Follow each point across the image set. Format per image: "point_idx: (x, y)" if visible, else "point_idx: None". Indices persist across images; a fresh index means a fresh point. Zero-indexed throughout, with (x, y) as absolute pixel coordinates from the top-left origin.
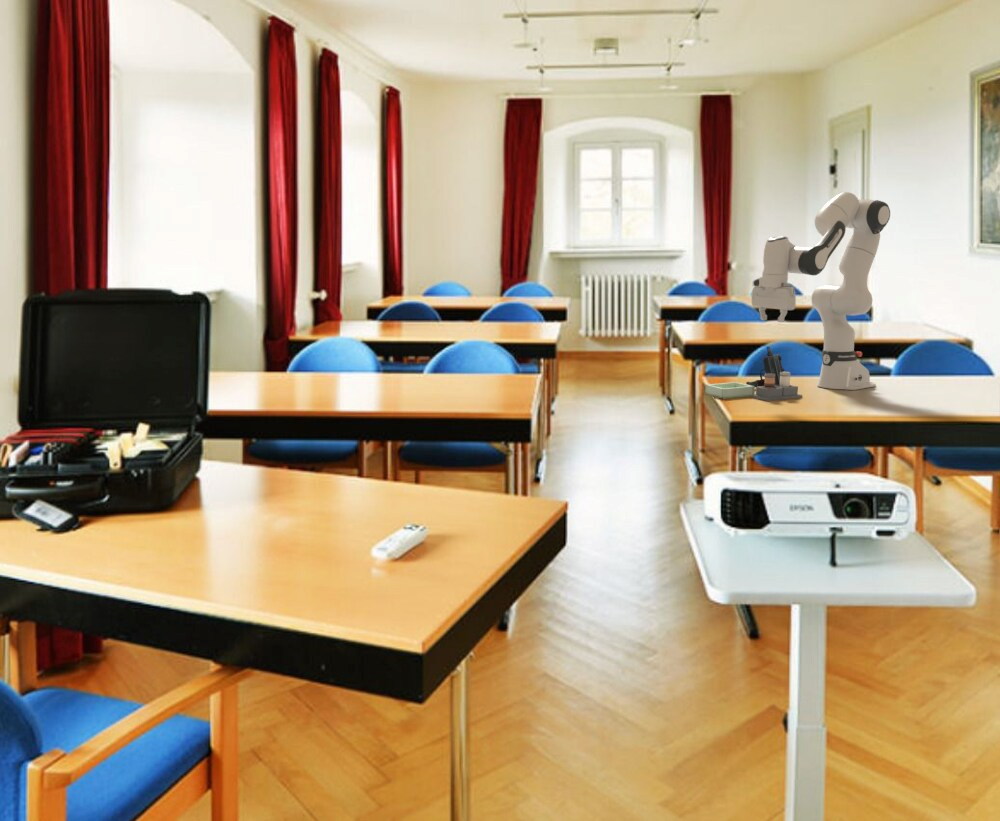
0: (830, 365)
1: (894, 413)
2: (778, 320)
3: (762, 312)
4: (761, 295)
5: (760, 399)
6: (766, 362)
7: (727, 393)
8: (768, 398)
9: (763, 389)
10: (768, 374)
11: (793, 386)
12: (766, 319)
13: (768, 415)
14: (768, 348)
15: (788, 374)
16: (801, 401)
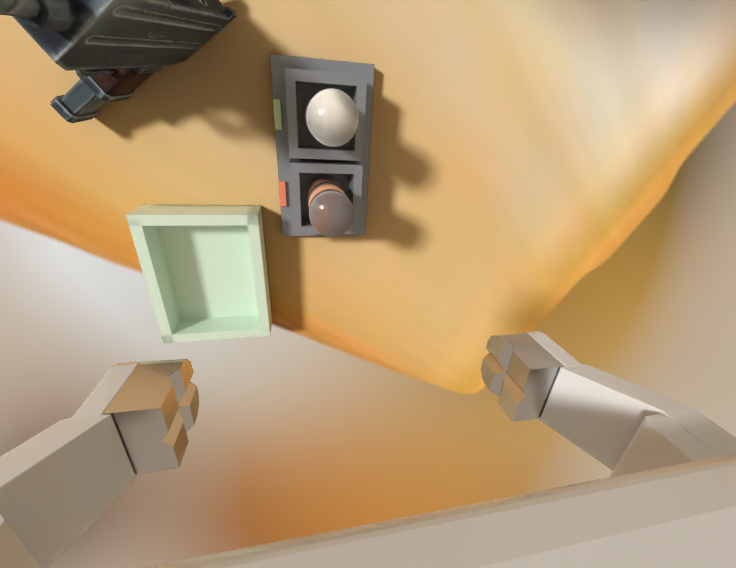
0: None
1: (718, 28)
2: (501, 387)
3: (71, 504)
4: None
5: None
6: (91, 55)
7: (269, 313)
8: (364, 230)
9: None
10: (344, 232)
11: (349, 85)
12: (185, 360)
13: None
14: (4, 7)
15: (356, 120)
16: (423, 134)
